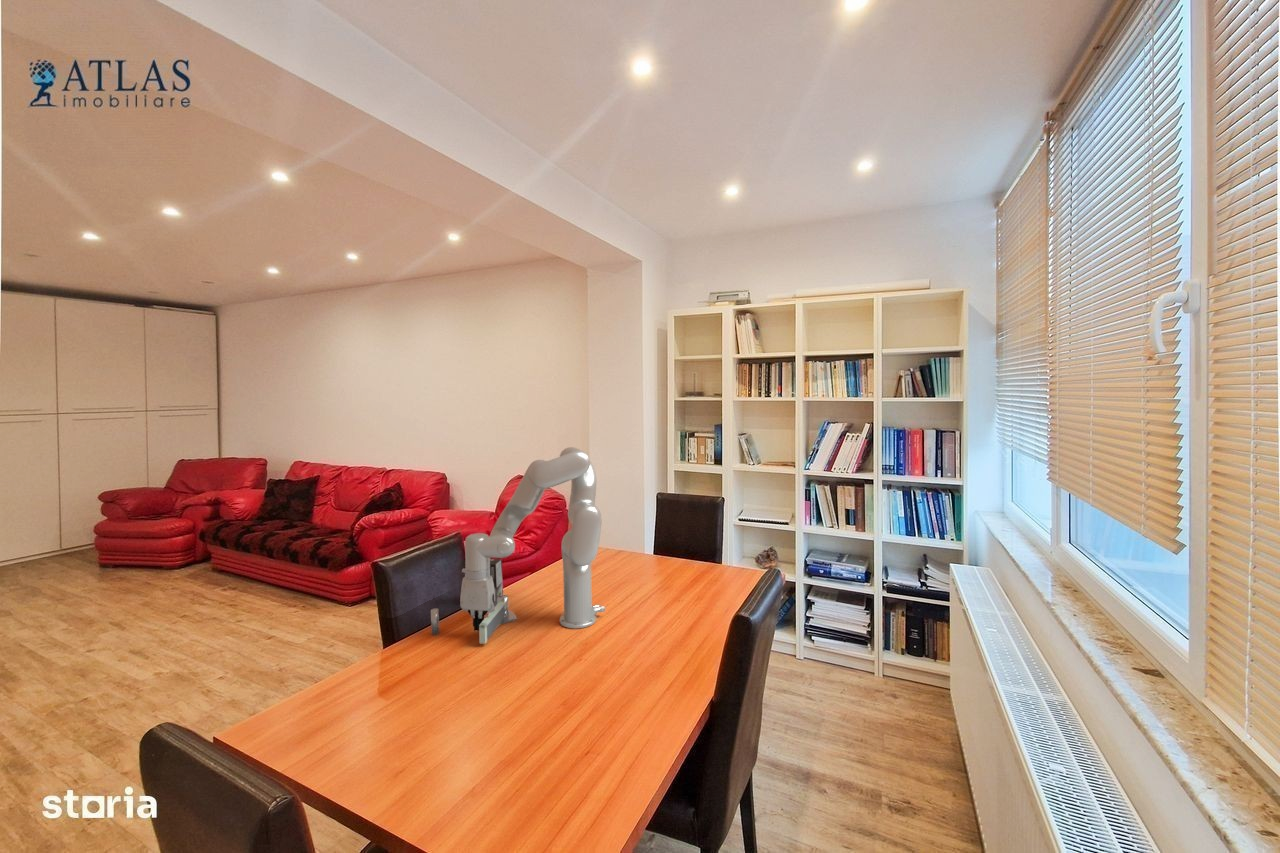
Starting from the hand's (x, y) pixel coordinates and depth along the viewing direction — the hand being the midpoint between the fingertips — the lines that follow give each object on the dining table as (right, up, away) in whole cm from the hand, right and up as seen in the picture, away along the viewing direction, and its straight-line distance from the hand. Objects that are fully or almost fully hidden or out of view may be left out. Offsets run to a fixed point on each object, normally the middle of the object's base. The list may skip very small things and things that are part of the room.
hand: (478, 628), depth 161 cm
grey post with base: (+5, -2, +14) cm, 15 cm away
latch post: (-15, -3, +3) cm, 16 cm away
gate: (+4, -2, +3) cm, 5 cm away
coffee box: (-5, -2, +28) cm, 28 cm away
